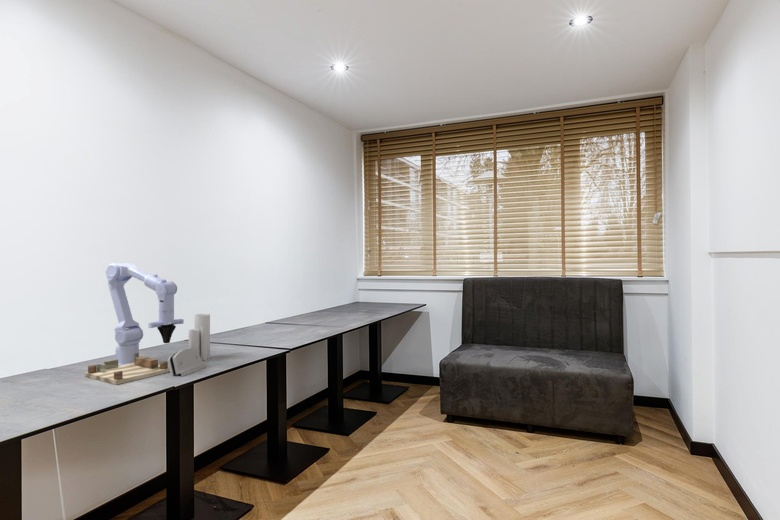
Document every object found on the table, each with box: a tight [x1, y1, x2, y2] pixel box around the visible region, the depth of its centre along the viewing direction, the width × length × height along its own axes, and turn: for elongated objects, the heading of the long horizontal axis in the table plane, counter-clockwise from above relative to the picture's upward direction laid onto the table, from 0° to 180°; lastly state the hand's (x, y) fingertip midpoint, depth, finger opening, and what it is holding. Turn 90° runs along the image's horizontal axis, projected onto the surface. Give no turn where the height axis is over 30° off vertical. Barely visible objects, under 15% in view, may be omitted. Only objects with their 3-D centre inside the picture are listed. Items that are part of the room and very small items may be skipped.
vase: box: [188, 313, 211, 361], centre depth 205 cm, size 11×7×20 cm, turn 178°
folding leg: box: [135, 355, 159, 368], centre depth 186 cm, size 12×3×3 cm, turn 59°
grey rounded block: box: [167, 348, 207, 378], centre depth 185 cm, size 17×5×10 cm, turn 170°
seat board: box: [84, 352, 170, 386], centre depth 180 cm, size 22×22×6 cm
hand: (166, 342), depth 190 cm, fingers closed
